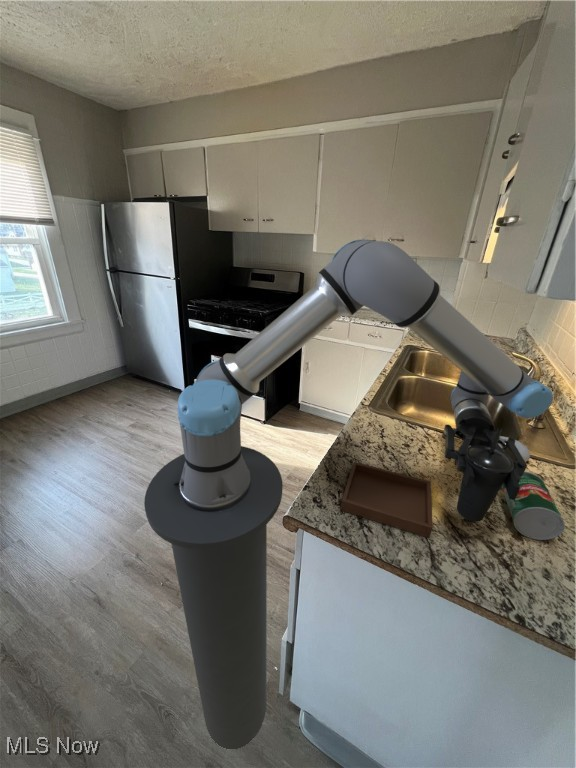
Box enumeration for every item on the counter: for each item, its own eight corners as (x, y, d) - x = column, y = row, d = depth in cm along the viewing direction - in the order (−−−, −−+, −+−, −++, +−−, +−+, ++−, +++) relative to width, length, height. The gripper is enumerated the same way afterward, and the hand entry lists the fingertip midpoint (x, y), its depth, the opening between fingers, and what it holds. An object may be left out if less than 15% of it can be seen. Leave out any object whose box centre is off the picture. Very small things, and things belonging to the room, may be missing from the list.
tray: (340, 510, 66) (341, 500, 65) (352, 470, 78) (353, 461, 77) (429, 538, 61) (432, 527, 60) (428, 490, 72) (430, 481, 71)
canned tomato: (510, 503, 72) (523, 542, 62) (495, 476, 71) (506, 512, 61) (551, 495, 68) (572, 536, 58) (536, 467, 66) (554, 504, 57)
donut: (530, 471, 80) (524, 450, 88) (535, 461, 78) (529, 440, 86) (485, 459, 84) (484, 439, 92) (489, 448, 82) (487, 429, 90)
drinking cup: (472, 495, 67) (500, 415, 59) (501, 524, 60) (537, 438, 52) (440, 500, 66) (465, 419, 57) (466, 531, 59) (499, 443, 50)
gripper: (514, 445, 72) (549, 521, 53) (426, 426, 78) (427, 488, 59) (526, 417, 69) (568, 487, 49) (433, 399, 75) (437, 456, 55)
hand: (491, 487), depth 54 cm, fingers closed on drinking cup, 6 cm apart
